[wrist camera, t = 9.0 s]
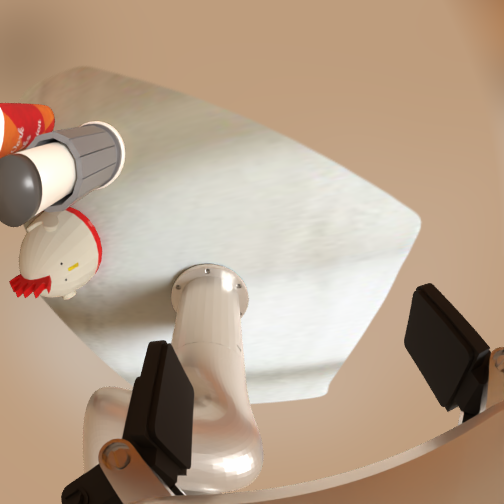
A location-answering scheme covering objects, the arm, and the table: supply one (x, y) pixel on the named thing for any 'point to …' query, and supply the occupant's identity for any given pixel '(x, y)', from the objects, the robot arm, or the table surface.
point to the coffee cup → (22, 125)
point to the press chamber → (88, 158)
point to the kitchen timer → (57, 255)
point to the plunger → (35, 181)
